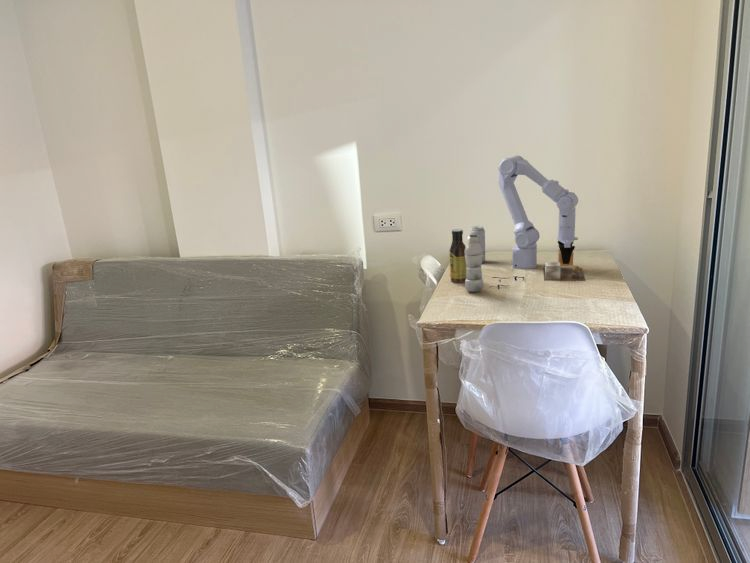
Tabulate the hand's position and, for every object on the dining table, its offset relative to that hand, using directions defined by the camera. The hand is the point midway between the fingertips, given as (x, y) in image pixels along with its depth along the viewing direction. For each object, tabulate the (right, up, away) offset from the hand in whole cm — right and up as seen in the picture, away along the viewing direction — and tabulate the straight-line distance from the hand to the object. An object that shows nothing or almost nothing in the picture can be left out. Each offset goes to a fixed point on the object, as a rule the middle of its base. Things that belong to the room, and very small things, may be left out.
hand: (565, 261), depth 203 cm
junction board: (-2, -6, -3) cm, 7 cm away
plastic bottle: (-36, -11, -11) cm, 40 cm away
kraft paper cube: (0, -1, 0) cm, 1 cm away
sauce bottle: (-40, -7, +2) cm, 41 cm away
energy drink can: (-28, +1, +25) cm, 38 cm away
